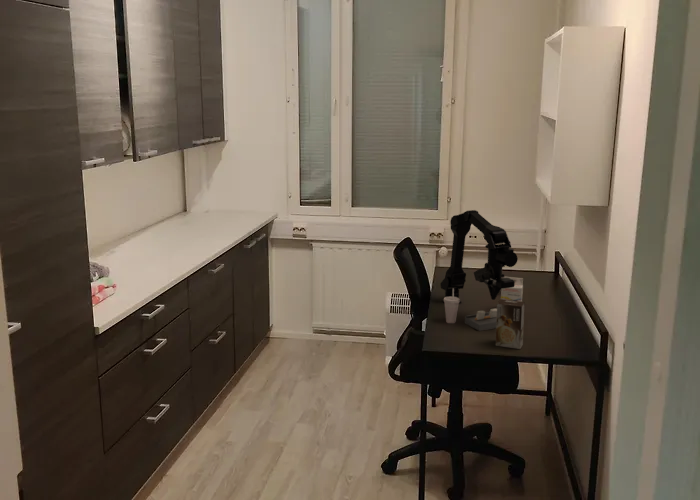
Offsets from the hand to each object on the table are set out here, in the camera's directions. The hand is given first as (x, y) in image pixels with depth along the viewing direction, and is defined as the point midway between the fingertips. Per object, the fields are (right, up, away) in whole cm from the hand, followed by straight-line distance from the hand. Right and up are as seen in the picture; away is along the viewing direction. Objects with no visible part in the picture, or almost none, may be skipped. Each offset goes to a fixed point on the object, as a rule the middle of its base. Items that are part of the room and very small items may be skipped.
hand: (493, 299), depth 266 cm
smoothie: (-16, -9, +5) cm, 19 cm away
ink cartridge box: (+11, -7, +16) cm, 20 cm away
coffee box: (+1, -15, -20) cm, 25 cm away
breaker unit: (0, -10, +2) cm, 10 cm away
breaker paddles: (0, -7, +2) cm, 7 cm away
